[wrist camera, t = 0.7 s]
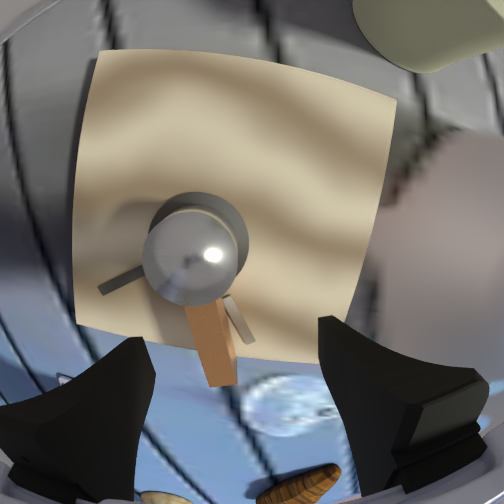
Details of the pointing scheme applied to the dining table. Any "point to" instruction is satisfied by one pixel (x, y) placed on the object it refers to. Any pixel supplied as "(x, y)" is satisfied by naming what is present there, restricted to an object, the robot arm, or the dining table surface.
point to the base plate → (227, 191)
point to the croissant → (302, 487)
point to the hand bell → (162, 498)
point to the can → (431, 30)
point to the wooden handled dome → (198, 280)
